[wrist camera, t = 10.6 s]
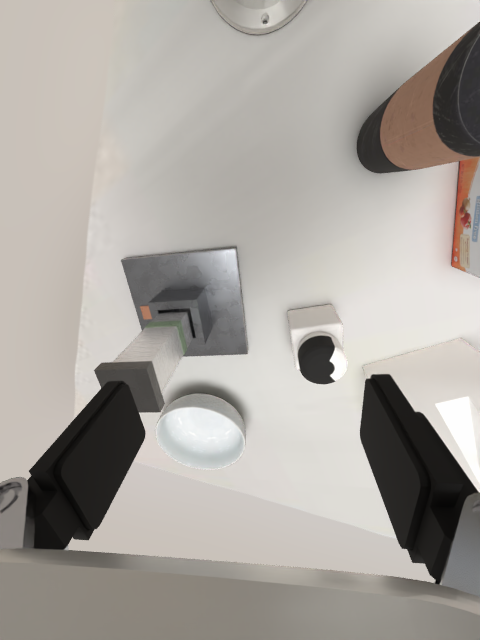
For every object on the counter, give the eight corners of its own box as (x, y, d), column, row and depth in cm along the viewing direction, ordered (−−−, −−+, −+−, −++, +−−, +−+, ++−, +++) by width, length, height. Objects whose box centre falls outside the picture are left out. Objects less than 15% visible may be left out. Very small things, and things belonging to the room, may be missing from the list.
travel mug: (340, 146, 33) (425, 87, 15) (393, 83, 30) (576, -84, 12) (381, 189, 34) (502, 182, 16) (435, 133, 31) (653, 51, 14)
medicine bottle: (292, 347, 46) (298, 393, 35) (286, 310, 43) (292, 348, 32) (334, 341, 45) (355, 388, 34) (331, 303, 42) (353, 340, 31)
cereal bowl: (166, 433, 59) (154, 461, 52) (169, 373, 51) (154, 398, 45) (241, 447, 58) (238, 478, 52) (254, 389, 51) (252, 417, 45)
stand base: (125, 257, 42) (100, 268, 36) (236, 247, 40) (229, 256, 33) (153, 353, 50) (136, 376, 43) (248, 349, 47) (244, 373, 41)
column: (154, 310, 37) (94, 370, 24) (190, 308, 36) (146, 368, 24) (163, 342, 39) (111, 412, 27) (196, 340, 39) (160, 412, 26)
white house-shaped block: (473, 422, 49) (645, 615, 26) (386, 439, 53) (471, 620, 30) (460, 337, 42) (677, 499, 20) (361, 365, 46) (448, 526, 24)
